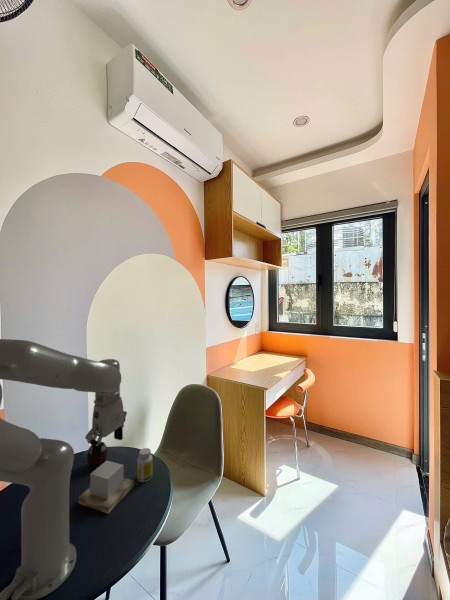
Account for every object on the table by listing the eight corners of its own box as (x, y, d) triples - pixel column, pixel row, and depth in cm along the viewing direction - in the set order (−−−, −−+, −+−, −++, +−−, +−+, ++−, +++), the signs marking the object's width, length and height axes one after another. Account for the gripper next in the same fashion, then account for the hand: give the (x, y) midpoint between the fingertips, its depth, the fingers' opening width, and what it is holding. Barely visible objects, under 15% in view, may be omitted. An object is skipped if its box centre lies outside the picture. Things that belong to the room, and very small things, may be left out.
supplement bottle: (154, 472, 97) (154, 447, 97) (149, 483, 92) (149, 456, 91) (140, 471, 97) (141, 446, 97) (134, 482, 92) (134, 455, 92)
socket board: (108, 513, 79) (108, 507, 79) (78, 503, 82) (78, 497, 82) (133, 486, 90) (133, 480, 90) (106, 478, 94) (106, 472, 94)
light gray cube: (107, 499, 82) (107, 479, 82) (90, 493, 84) (90, 473, 84) (123, 483, 88) (123, 464, 88) (106, 478, 91) (106, 460, 91)
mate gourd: (90, 474, 96) (90, 434, 96) (84, 463, 102) (84, 426, 102) (110, 465, 101) (110, 427, 101) (104, 455, 107) (104, 420, 107)
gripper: (96, 410, 76) (96, 466, 77) (133, 389, 93) (134, 435, 93) (76, 406, 79) (77, 460, 79) (117, 386, 95) (117, 431, 96)
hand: (108, 447), depth 86 cm, fingers open, 9 cm apart
